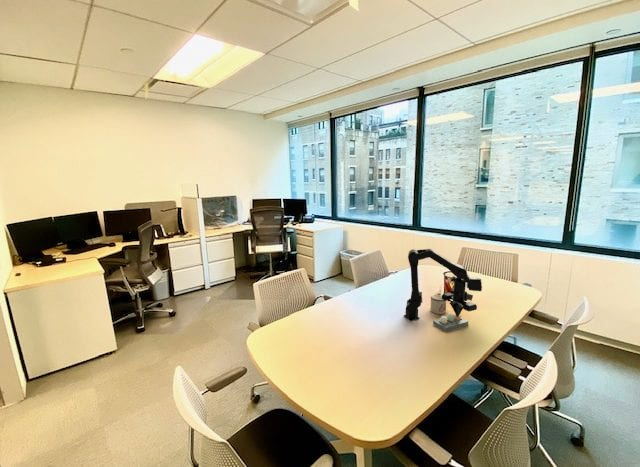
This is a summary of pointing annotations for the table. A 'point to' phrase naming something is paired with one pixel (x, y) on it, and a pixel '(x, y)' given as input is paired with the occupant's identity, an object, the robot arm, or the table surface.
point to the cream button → (443, 320)
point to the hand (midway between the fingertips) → (457, 316)
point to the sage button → (450, 318)
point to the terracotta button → (457, 318)
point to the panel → (450, 324)
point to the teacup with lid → (438, 304)
